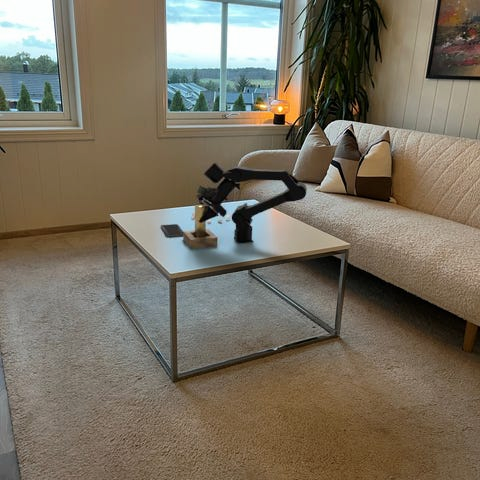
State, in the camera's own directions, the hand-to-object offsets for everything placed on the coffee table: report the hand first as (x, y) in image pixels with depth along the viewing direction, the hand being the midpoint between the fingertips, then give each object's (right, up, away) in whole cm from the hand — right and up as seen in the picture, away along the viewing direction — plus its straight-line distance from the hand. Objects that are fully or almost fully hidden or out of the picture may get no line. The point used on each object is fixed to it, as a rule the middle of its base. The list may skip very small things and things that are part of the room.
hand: (197, 220), depth 188 cm
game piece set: (+3, +3, +38) cm, 38 cm away
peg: (+1, -7, +3) cm, 8 cm away
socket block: (+1, -9, +4) cm, 10 cm away
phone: (-12, -4, +16) cm, 21 cm away
